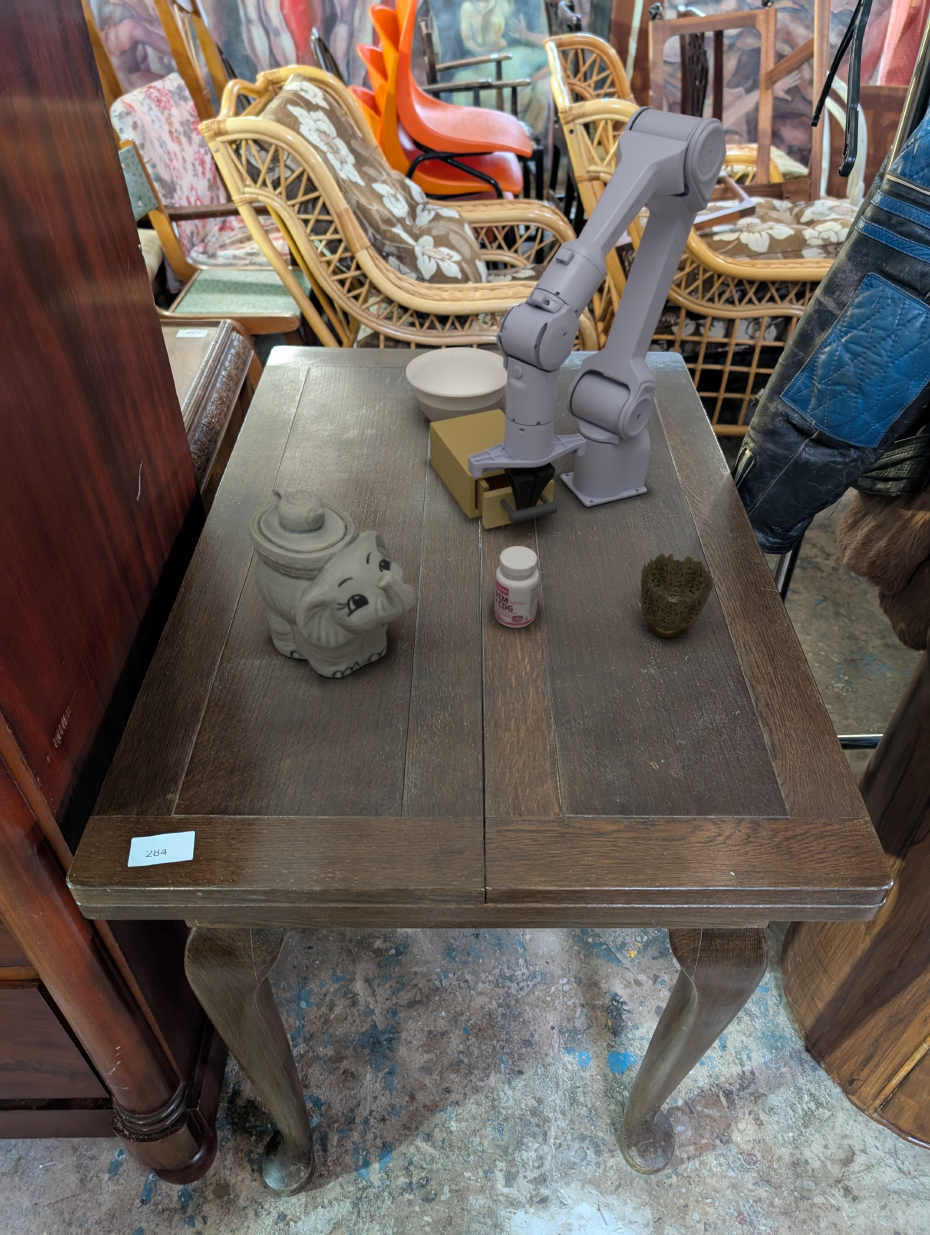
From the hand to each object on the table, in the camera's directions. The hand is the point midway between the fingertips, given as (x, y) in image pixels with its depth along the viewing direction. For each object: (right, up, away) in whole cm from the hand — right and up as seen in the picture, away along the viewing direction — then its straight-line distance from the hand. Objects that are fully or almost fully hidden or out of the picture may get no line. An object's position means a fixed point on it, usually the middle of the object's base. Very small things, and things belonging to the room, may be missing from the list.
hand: (523, 513), depth 99 cm
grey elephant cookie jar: (-20, -17, -13) cm, 30 cm away
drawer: (-2, +2, +6) cm, 7 cm away
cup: (+15, -15, -11) cm, 23 cm away
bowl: (-8, +17, +24) cm, 30 cm away
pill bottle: (-2, -13, -9) cm, 16 cm away
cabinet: (-5, +6, +11) cm, 13 cm away
